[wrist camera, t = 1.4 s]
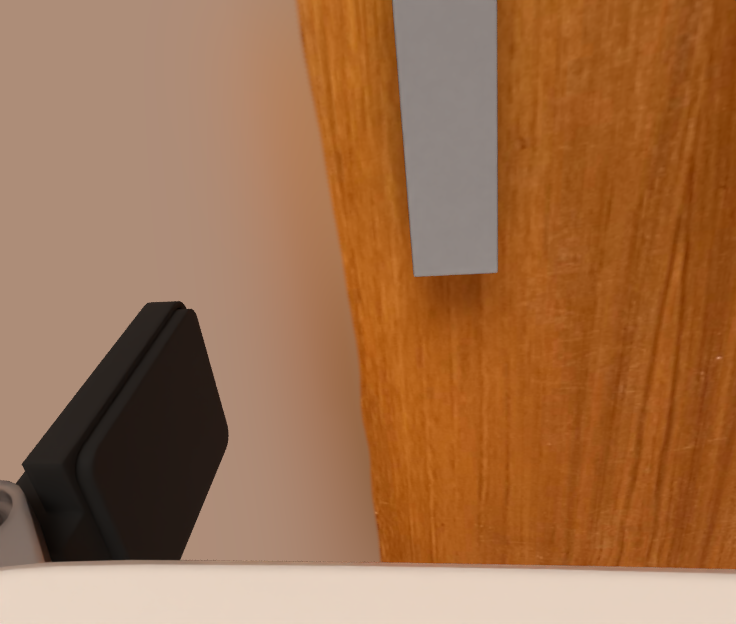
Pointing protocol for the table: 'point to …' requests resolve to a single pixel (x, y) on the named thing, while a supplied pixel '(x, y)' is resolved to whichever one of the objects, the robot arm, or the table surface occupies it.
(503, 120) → the table surface
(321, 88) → the table surface
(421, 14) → the case
